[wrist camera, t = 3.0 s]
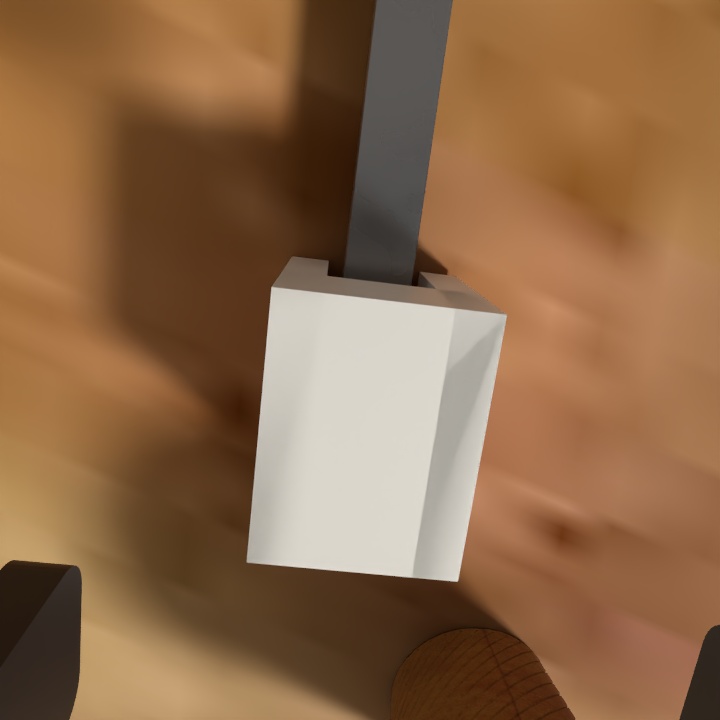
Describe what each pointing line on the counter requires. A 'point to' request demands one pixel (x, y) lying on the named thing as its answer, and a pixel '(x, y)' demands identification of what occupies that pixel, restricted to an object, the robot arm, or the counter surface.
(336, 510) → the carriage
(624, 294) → the counter surface
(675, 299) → the counter surface
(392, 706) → the disposable coffee cup
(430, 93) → the rail
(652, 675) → the counter surface
